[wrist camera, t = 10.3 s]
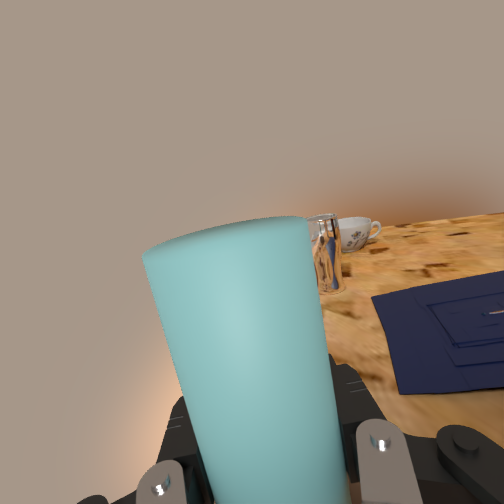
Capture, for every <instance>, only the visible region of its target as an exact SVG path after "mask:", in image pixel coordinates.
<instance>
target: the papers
mask: <svg viewBox="0 0 504 504" xmlns="http://www.w3.org/2000/svg"><path fill="white" fill-rule="evenodd" d="M371 298H372V300H373V303H374V305H375V308H376V310H377V313H378V315H379V318H380V320H381V322H382V325H383V327H384V330H385V332H386V337H387V341H388V345H389V349H390V354H391V358H392V362H393V367H394V371H395V375H396V380H397V384H398V388H399V393H400V394H419V393H446V392H457V391H468V390H479V389H482V388H494V387H504V271H498V272H493V273H487V274H482V275H477V276H471V277H466V278H460V279H455V280H449V281H444V282H439V283H433V284H428V285H422V286H417V287H411V288H409V289H404V290H399V291H395V292H390V293H387V294H382V295H377V296H373V297H371Z"/></svg>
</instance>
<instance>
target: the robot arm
mask: <svg viewBox="0 0 504 504" xmlns="http://www.w3.org/2000/svg"><path fill="white" fill-rule="evenodd" d="M328 356H329V362H330V368H331V375H332V381H333V388H334V394H335V400H336V407H337V414H338V420H339V427H340V433H341V440H342V446H343V452H344V459H345V465H346V471H347V473H348V476H349V479H350V482H351V484H352V483H357V482H360V485H361V494H362V501H361V502H362V504H504V449H503V448H502V447H500V446H499V445H498V444H496V443H495V442H493V441H492V440H490V439H489V438H488V437H486V436H485V435H483V434H482V433H480V432H478V431H476V430H474V429H472V428H469V427H466V426H461V425H448V426H445V427H443V428H441V429H440V430H439V431H438V433H437V437H436V438H426V437H417V436H411V435H408V434H405V433H403V432H402V431H401V430H400V429H399V428H398V427H397V426H396V425H394V424H393V423H391V422H389V421H387V420H386V418H385V416H384V415H383V413H382V412H381V410H380V408H379V407H378V405H377V403H376V402H375V400H374V399H373V397H372V395H371V394H370V392H369V391H368V390H367V387H366V386H365V384H364V382H362V379H361V378H360V376H359V374H358V373H357V371H356V370H355V369H353V368H352V367H350V366H349V365H348V364H341V365H336V363H335V361H334V360H333V358H332V356H331V354H328ZM77 504H108V501H107V499H106V498H105V497H104V496H102V495H93V496H90V497H87V498H86V499H83V500H82V501H80V502H79V503H77ZM111 504H214V496H213V493H212V489H211V486H210V483H209V480H208V476H207V473H206V470H205V466H204V463H203V460H202V456H201V453H200V450H199V446H198V443H197V440H196V436H195V433H194V430H193V426H192V423H191V420H190V416H189V413H188V410H187V406H186V403H185V400H184V396H182V397H180V398H179V400H178V401H177V402H176V404H175V405H174V406H173V409H172V412H171V415H170V420H169V422H168V425H167V430H166V432H165V435H164V439H163V442H162V445H161V449H160V452H159V455H158V459H157V462H156V464H155V465H154V466H152V467H151V468H150V469H149V470H148V471H147V472H146V473H145V474H144V475H143V477H142V478H141V480H140V482H139V484H138V487H137V490H135V491H134V492H132V493H130V494H129V495H127V496H125V497H123V498H121V499H119V500H117V501H115V502H113V503H111Z"/></svg>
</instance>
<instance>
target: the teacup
mask: <svg viewBox="0 0 504 504" xmlns="http://www.w3.org/2000/svg"><path fill="white" fill-rule="evenodd" d="M338 224H339V228H340V234H341V252H354V251H357V250H359V249H360V248H361V247H362V246H363V245H364V243H365V242H366V241H367V240H369V239H372V238H374V237H376V236H377V235H378V234H379V233H380V231H381V224H380V223H379V222H377V221H375V222H372V223H371V220H370V219H369V218H362V217H350V218H343V219H338ZM375 225H376V226H378V231H377V232H376V233H375V234H374V235H372V236H370V237H369V234H370V231H371V229H372V227H373V226H375Z"/></svg>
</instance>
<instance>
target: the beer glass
mask: <svg viewBox="0 0 504 504" xmlns="http://www.w3.org/2000/svg"><path fill="white" fill-rule="evenodd" d="M305 219H307V222H308V228H309V235H310V241H311V247H312V254H313V260H314V266H315V273H316V279H317V286H318V292H319V294H321V295H333V294H337V293H340V292H342V291H343V290H344V289H345V283H344V280H343V278H342V274H341V234H340V228H339V224H338V219H337V215H336V214H333V213H331V214H320V215H315V216H311V217H307V218H305Z"/></svg>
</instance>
